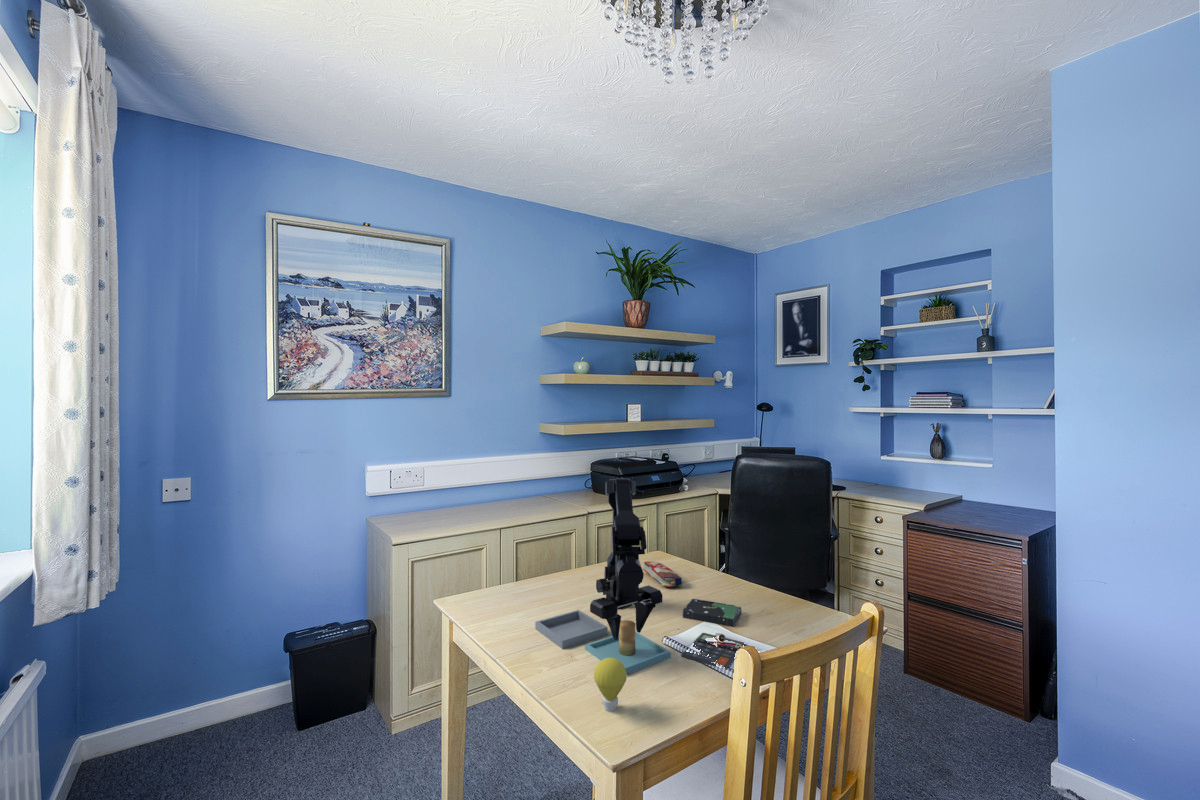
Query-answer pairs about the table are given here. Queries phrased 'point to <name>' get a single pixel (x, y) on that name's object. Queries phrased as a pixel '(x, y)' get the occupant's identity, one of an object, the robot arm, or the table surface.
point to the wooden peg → (627, 638)
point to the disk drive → (712, 612)
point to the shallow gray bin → (571, 628)
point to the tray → (643, 656)
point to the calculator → (713, 651)
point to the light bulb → (610, 681)
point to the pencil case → (662, 574)
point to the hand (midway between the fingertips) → (627, 635)
